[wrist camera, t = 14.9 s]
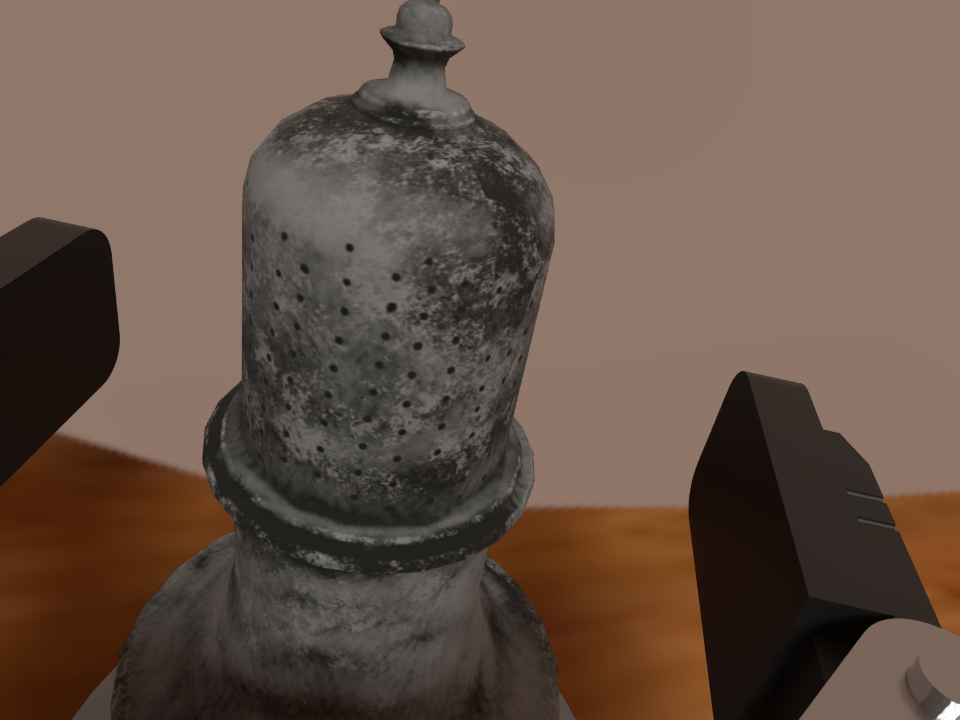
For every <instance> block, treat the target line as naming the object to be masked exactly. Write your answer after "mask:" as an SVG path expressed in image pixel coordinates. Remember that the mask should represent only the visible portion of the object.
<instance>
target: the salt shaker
mask: <svg viewBox="0 0 960 720" xmlns="http://www.w3.org/2000/svg"><path fill="white" fill-rule="evenodd" d="M439 1H440V0H408V1H406V2H405V3H404V4H402V5H401V6H400V8H399V10H398V13H397V20H396V25H395V26H388V27H385V28H382V29H380V34H381V35H382V37H383V39H384V40H385V41H386V42H387V43H388V45H389V46H390V47H391V48H392V50H393V54H394V61H393V65H392V67H391V71H390V74H389V77H388V79H376V80H370V81H368V82H365V83H364V84H363V85H362V86H361V88H360V89H359V90H358V91H356V92H355V93H354V94H342V95H337V96H332V97H327V98H325V99H322V100H320V101H318V102H316V103H314V104H312V105H310V106H308V107H306V108H304V109H302V110H300V111H298V112H296V113H294V114H292V115H290V116H288V117H286V118H284V119H282V120H281V121H280V123H279V124H278V125H277V126H276V127H275V128H274V129H273V131H272V132H271V133H270V134H269V135H268V137H267V138H266V139H265V140H264V141H263V143H262V144H261V145H260V146H259V147H258V149H257V150H256V151H255V152H254V153H253V154H252V156H251V158H250V162H249V166H248V170H247V174H246V178H245V182H244V186H243V200H242V380H241V381H240V382H239V383H238V384H237V385H236V386H235V387H234V388H233V389H232V390H231V391H230V392H229V393H228V394H227V395H225V396H224V398H222V399H221V400H220V401H219V402H218V404H217V406H216V408H215V410H214V412H213V414H212V415H211V418H210V419H209V422H208V423H207V425H206V427H205V434H204V446H203V456H202V457H203V466H204V469H205V472H206V475H207V478H208V481H209V484H210V487H211V490H212V493H213V495H214V496H215V498H216V499H217V500H218V501H219V503H220V504H221V505H222V506H223V508H224V509H225V510H226V511H227V512H228V514H229V515H230V516H231V517H232V519H233V520H234V531H233V532H231V533H229V534H227V535H224V536H222V537H220V538H218V539H217V540H215V541H214V542H212V543H211V544H210V545H208V546H207V547H205V548H204V549H203V550H201V551H200V552H198V553H197V554H196V555H194V556H193V557H191V558H190V559H189V560H187V561H186V562H184V563H183V564H182V565H180V566H179V567H177V568H176V570H175V571H174V572H173V573H172V574H171V575H170V576H169V578H168V579H167V580H166V581H165V582H164V583H163V584H162V585H161V587H160V588H159V589H158V590H157V591H156V592H155V593H154V595H153V596H152V597H151V598H150V599H149V600H148V601H147V603H146V604H145V605H144V606H143V608H142V610H141V612H140V614H139V616H138V617H137V619H136V621H135V623H134V625H133V627H132V629H131V631H130V633H129V635H128V637H127V639H126V641H125V643H124V645H123V647H122V649H121V651H120V653H119V658H118V664H117V669H116V675H115V681H114V686H113V692H112V698H111V703H110V714H111V720H559V716H560V708H559V688H558V669H557V662H556V659H555V657H554V654H553V651H552V648H551V645H550V642H549V639H548V636H547V633H546V630H545V627H544V624H543V621H542V619H541V618H540V616H539V615H538V613H537V612H536V610H535V609H534V607H533V606H532V604H531V603H530V601H529V600H528V598H527V596H526V595H525V593H524V592H523V590H522V589H521V587H520V586H519V584H518V583H517V582H516V581H515V580H514V579H513V578H512V577H511V576H510V575H509V574H508V573H507V572H506V571H505V570H504V569H502V568H501V567H500V566H499V565H498V564H497V563H496V562H495V561H494V560H493V559H492V558H491V557H490V556H489V555H487V553H488V549H489V546H490V545H492V544H494V543H495V542H497V541H499V540H500V539H501V538H502V537H503V536H504V535H505V534H506V532H507V531H508V530H509V529H510V528H511V527H512V526H513V525H514V523H515V522H516V521H517V520H518V519H519V518H520V517H521V516H522V514H523V512H524V509H525V506H526V504H527V501H528V498H529V496H530V493H531V490H532V487H533V483H534V461H533V451H532V449H531V447H530V444H529V442H528V440H527V437H526V435H525V433H524V430H523V428H522V426H521V425H520V424H519V422H518V421H517V420H516V419H515V418H514V416H513V415H514V411H515V406H516V402H517V398H518V394H519V390H520V386H521V381H522V377H523V373H524V369H525V364H526V360H527V356H528V352H529V347H530V343H531V339H532V335H533V331H534V327H535V322H536V318H537V314H538V310H539V306H540V301H541V297H542V292H543V288H544V285H545V280H546V276H547V272H548V267H549V263H550V259H551V255H552V251H553V247H554V205H553V197H552V195H551V192H550V190H549V188H548V186H547V184H546V181H545V179H544V177H543V175H542V173H541V171H540V168H539V167H538V165H537V164H536V163H535V161H534V160H533V159H532V157H531V156H530V155H529V154H528V153H527V152H526V151H525V150H524V149H523V148H522V147H521V146H520V145H519V144H518V143H517V142H516V141H515V140H514V139H512V138H511V137H510V136H509V135H508V134H507V133H506V132H505V131H504V130H502V129H501V128H500V127H498V126H497V125H495V124H494V123H492V122H490V121H488V120H486V119H484V118H482V117H480V116H478V115H476V114H475V113H474V111H473V110H472V108H471V105H470V103H469V102H468V100H467V99H466V98H465V97H464V96H463V95H461V94H459V93H457V92H455V91H453V90H451V89H448V88H446V77H445V67H446V65H447V62H448V60H449V58H451V57H452V56H454V55H455V54H457V53H458V52H459V51H461V50H462V49H464V48H465V44H464V43H463V42H462V41H461V40H460V39H458V38H456V37H453V36H452V35H451V33H452V25H453V24H452V16H451V14H450V13H449V11H448V10H447V8H446V7H444V6H442V5H440V4H439Z"/></svg>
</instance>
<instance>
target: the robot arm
mask: <svg viewBox="0 0 960 720" xmlns="http://www.w3.org/2000/svg"><path fill="white" fill-rule="evenodd" d="M119 346H120V333H119V324H118V313H117V304H116V293H115V283H114V273H113V263H112V254H111V248H110V244H109V241H108V239H107V237H106V236H105V234H104V233H102V232H101V231H99V230H97V229H92V228H87V227H83V226H78V225H74V224H69V223H65V222H60V221H55V220H50V219H46V218H40V217H37V218H33V219H31V220H29V221H27V222H25V223H23V224H22V225H20V226H18V227H17V228H15V229H13V230H11V231H10V232H8V233H7V234H5V235H3V236H1V237H0V487H1V486H2V485H3V484H4V483H5V482H6V481H7V480H8V479H9V478H10V477H11V476H12V475H13V474H14V473H15V472H16V471H17V470H18V469H19V468H20V467H21V466H22V465H23V464H24V463H25V462H26V461H27V460H28V459H29V458H30V457H31V456H32V455H33V454H34V453H35V452H36V451H37V450H38V449H39V448H40V447H41V446H42V445H43V444H44V443H45V442H46V441H47V440H48V439H49V438H50V437H51V436H52V435H53V434H54V433H55V432H56V431H57V430H58V429H59V428H60V427H61V426H62V425H63V424H64V423H65V422H66V421H67V420H68V419H69V418H70V417H71V416H72V415H73V414H74V413H75V412H76V411H77V410H78V409H79V408H80V407H81V406H82V405H83V404H84V403H85V402H86V401H87V400H88V399H89V398H90V397H91V396H92V395H93V394H94V393H95V392H96V391H97V390H98V389H99V388H100V387H101V386H102V385H103V384H104V383H105V382H106V381H107V379H108V378H109V376H110V374H111V373H112V371H113V368H114V366H115V363H116V360H117V357H118V352H119ZM882 501H883V495H882V493H881V490H880V488H879V486H878V484H877V481H876V479H875V477H874V475H873V472H872V470H871V468H870V465H869V464H868V463H867V462H866V461H865V460H864V459H863V458H862V456H860V455H859V453H858V452H857V451H856V450H855V449H854V448H853V447H852V446H851V445H850V444H849V443H848V442H847V441H846V440H845V438H844V437H843V436H842V435H841V434H840V433H836V432H832V431H827V430H823V428H822V426H821V423H820V421H819V418H818V416H817V413H816V410H815V407H814V405H813V402H812V400H811V397H810V395H809V392H808V390H807V388H806V386H805V385H803V384H801V383H796V382H791V381H787V380H782V379H778V378H773V377H769V376H764V375H759V374H755V373H750V372H745V371H741V372H739V373H738V374H737V375H736V376H735V378H734V379H733V381H732V383H731V384H730V386H729V389H728V391H727V394H726V396H725V398H724V401H723V403H722V406H721V408H720V410H719V413H718V415H717V418H716V420H715V423H714V425H713V427H712V430H711V432H710V435H709V438H708V439H707V442H706V444H705V447H704V449H703V452H702V454H701V456H700V459H699V461H698V464H697V466H696V469H695V472H694V475H693V480H692V484H691V489H690V495H689V522H690V530H691V539H692V547H693V555H694V563H695V571H696V579H697V587H698V595H699V604H700V612H701V620H702V628H703V636H704V644H705V652H706V660H707V668H708V677H709V685H710V693H711V701H712V709H713V717H714V720H960V637H958V636H956V635H954V634H952V633H950V632H948V631H946V630H944V629H942V628H941V626H940V624H939V621H938V619H937V617H936V614H935V612H934V610H933V608H932V605H931V603H930V601H929V599H928V596H927V594H926V592H925V590H924V587H923V585H922V583H921V581H920V578H919V576H918V574H917V572H916V569H915V567H914V565H913V563H912V560H911V558H910V556H909V554H908V551H907V549H906V547H905V544H904V542H903V540H902V538H901V535H900V533H899V532H898V531H895V525H896V524H895V522H894V520H893V517H892V515H891V513H890V511H889V508H888V506H887V504H885V503H882Z"/></svg>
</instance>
